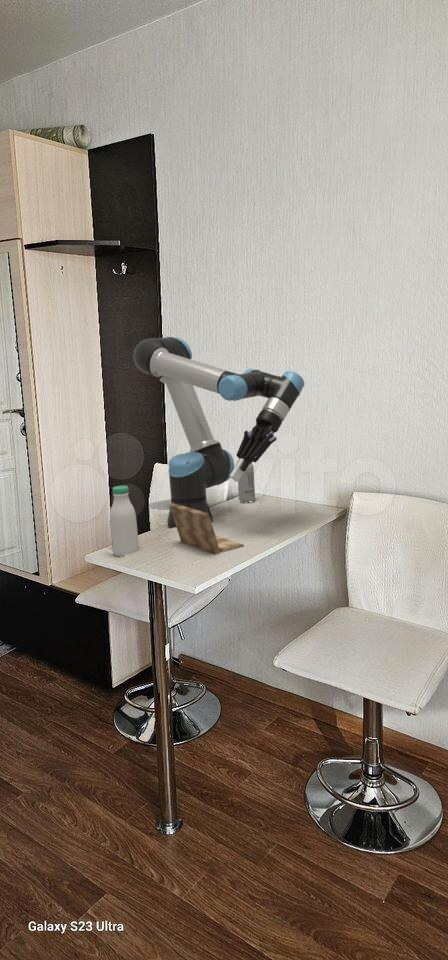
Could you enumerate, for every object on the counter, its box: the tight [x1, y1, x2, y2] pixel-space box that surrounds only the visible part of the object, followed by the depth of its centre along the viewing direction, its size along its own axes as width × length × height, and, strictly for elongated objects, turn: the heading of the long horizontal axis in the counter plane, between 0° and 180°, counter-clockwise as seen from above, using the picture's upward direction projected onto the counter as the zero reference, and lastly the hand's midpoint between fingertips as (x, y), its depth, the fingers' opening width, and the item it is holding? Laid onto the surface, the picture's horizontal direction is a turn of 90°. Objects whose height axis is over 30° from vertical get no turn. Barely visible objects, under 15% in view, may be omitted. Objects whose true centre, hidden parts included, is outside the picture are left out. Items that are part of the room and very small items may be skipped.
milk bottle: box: [109, 485, 140, 557], centre depth 204 cm, size 8×8×20 cm
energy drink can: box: [237, 462, 256, 502], centre depth 260 cm, size 6×6×15 cm
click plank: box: [169, 503, 221, 555], centre depth 202 cm, size 18×2×13 cm, turn 37°
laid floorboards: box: [215, 534, 245, 554], centre depth 208 cm, size 18×8×2 cm, turn 37°
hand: (233, 478), depth 208 cm, fingers closed
